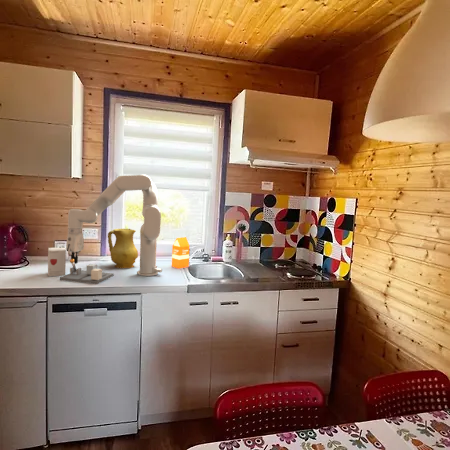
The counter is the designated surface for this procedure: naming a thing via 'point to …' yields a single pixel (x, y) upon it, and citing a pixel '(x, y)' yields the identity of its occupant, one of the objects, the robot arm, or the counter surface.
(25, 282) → the counter surface
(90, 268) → the white cube
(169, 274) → the counter surface
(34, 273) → the counter surface
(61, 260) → the supplement box
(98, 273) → the cream slider
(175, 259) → the orange juice
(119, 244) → the pitcher
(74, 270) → the lever
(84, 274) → the panel
